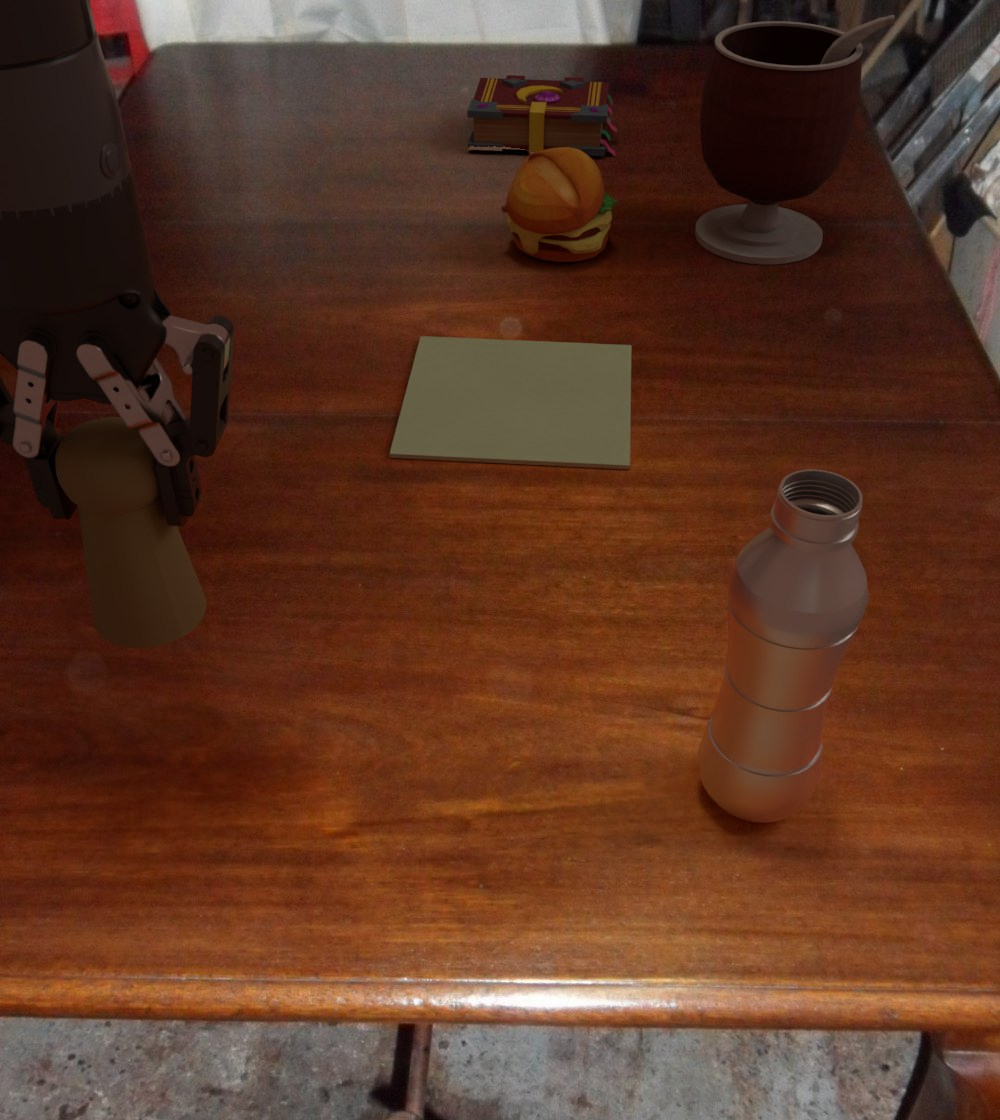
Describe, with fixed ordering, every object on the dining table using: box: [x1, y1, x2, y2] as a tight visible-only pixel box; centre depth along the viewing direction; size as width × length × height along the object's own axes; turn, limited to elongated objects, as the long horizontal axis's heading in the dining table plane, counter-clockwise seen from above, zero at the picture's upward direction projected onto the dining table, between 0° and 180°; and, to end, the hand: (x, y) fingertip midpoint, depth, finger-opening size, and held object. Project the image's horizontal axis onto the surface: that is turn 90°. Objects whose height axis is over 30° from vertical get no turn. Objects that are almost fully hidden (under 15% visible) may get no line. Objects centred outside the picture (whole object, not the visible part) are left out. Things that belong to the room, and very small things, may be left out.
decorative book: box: [466, 74, 618, 157], centre depth 132 cm, size 11×16×5 cm
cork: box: [55, 416, 208, 649], centre depth 60 cm, size 6×6×11 cm
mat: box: [389, 335, 633, 471], centre depth 95 cm, size 18×18×1 cm
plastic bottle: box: [697, 468, 869, 824], centre depth 59 cm, size 6×7×20 cm
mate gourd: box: [694, 14, 896, 266], centre depth 109 cm, size 16×14×20 cm
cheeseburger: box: [500, 147, 619, 263], centre depth 111 cm, size 10×11×10 cm
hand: (123, 512), depth 59 cm, fingers closed on cork, 5 cm apart
